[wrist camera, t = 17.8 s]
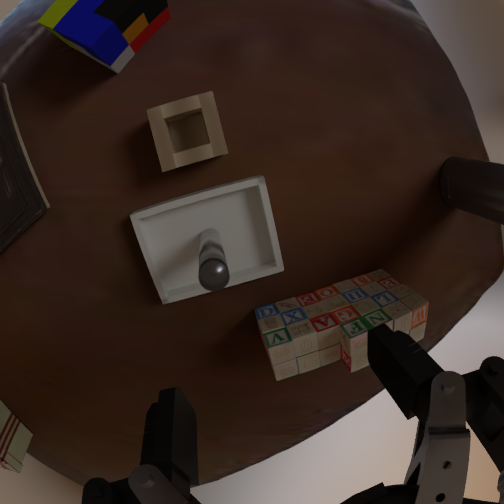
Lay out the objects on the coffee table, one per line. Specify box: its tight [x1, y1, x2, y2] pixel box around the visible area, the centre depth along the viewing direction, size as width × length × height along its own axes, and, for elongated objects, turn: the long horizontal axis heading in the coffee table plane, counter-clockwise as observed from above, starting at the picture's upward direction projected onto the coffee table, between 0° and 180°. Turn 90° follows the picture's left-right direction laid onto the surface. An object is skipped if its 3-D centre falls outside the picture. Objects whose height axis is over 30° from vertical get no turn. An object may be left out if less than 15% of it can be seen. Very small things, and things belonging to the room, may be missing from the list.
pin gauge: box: [198, 228, 230, 291], centre depth 29 cm, size 3×3×12 cm
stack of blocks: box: [254, 269, 429, 381], centre depth 36 cm, size 21×6×12 cm, turn 102°
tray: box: [130, 175, 284, 304], centre depth 34 cm, size 16×12×3 cm
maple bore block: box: [147, 91, 228, 172], centre depth 28 cm, size 7×7×5 cm
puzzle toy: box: [38, 0, 170, 73], centre depth 19 cm, size 10×10×10 cm
